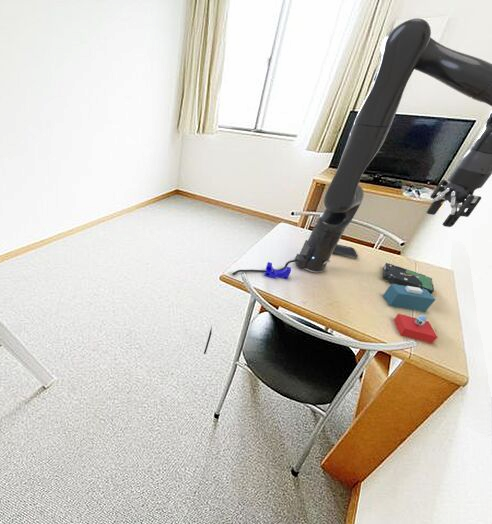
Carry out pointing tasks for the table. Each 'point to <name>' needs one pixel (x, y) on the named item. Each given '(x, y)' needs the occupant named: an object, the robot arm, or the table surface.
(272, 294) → the table surface
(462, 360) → the table surface
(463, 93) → the robot arm
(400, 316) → the red rectangular block
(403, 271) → the disk drive
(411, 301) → the tissue box
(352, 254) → the phone
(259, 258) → the table surface
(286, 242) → the table surface
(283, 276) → the cable holder
